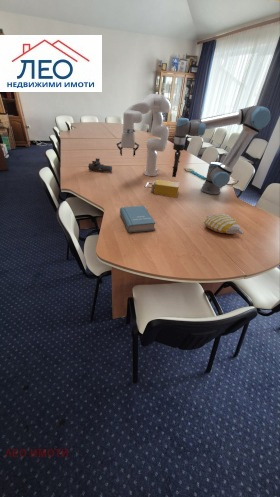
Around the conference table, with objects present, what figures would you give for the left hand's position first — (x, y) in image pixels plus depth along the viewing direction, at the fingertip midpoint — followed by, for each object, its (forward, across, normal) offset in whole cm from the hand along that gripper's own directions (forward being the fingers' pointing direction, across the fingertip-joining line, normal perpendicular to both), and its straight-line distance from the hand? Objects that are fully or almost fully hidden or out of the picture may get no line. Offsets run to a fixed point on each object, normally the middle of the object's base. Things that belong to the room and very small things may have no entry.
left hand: (127, 155), depth 172 cm
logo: (+24, -70, -41) cm, 84 cm away
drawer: (+23, -26, +11) cm, 36 cm away
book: (+24, -6, +61) cm, 66 cm away
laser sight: (+24, +26, -35) cm, 49 cm away
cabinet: (+24, -32, +13) cm, 42 cm away
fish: (+24, -59, +68) cm, 93 cm away
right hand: (+8, -36, +15) cm, 40 cm away
